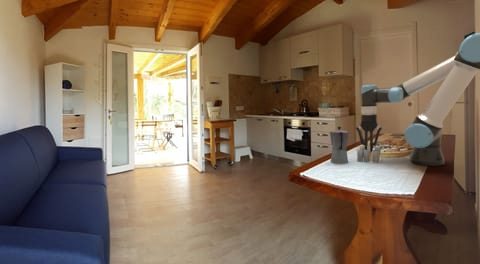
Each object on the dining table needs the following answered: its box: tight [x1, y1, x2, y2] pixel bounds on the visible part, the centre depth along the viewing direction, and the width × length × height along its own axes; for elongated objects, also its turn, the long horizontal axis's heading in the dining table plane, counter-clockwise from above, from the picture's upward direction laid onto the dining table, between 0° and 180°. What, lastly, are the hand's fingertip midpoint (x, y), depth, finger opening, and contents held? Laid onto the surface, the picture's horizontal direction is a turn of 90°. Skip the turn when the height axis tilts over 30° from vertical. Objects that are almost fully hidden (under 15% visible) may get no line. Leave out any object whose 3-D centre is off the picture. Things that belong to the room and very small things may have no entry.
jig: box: [356, 145, 382, 164], centre depth 159 cm, size 11×12×7 cm
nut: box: [370, 153, 381, 162], centre depth 157 cm, size 5×5×3 cm
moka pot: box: [329, 126, 349, 165], centre depth 156 cm, size 10×15×20 cm, turn 174°
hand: (368, 157), depth 159 cm, fingers closed
